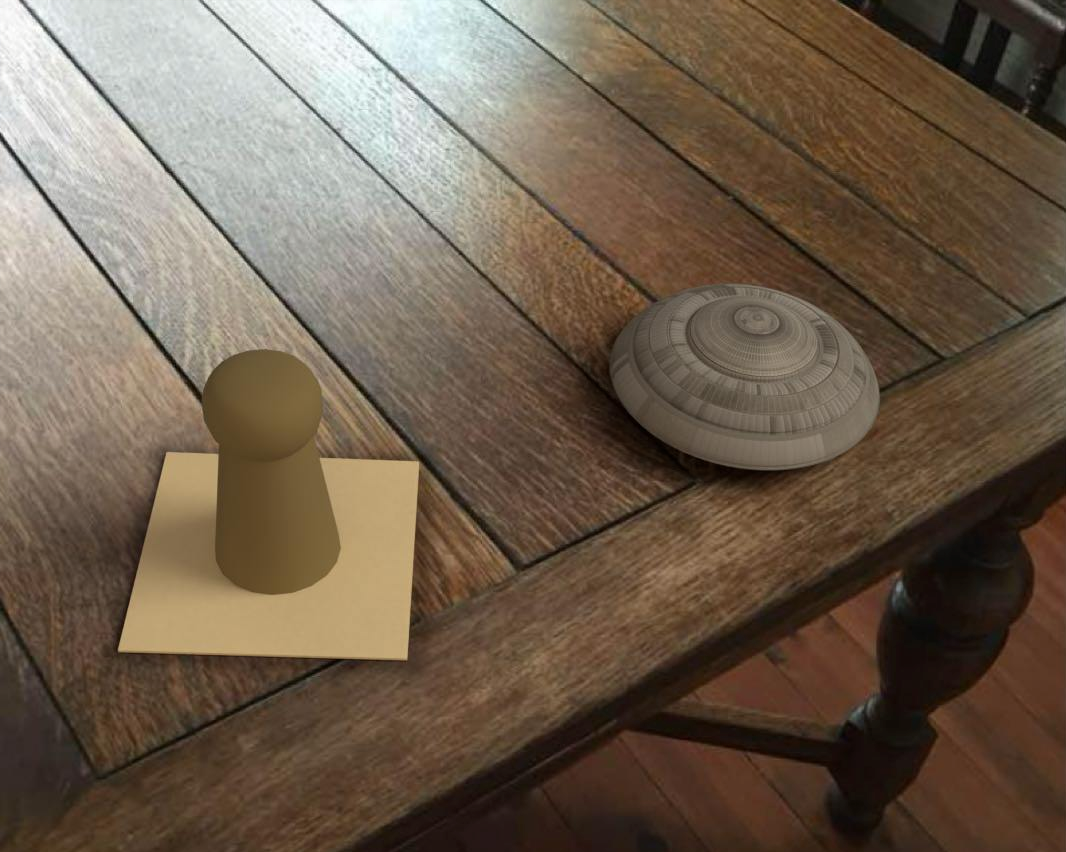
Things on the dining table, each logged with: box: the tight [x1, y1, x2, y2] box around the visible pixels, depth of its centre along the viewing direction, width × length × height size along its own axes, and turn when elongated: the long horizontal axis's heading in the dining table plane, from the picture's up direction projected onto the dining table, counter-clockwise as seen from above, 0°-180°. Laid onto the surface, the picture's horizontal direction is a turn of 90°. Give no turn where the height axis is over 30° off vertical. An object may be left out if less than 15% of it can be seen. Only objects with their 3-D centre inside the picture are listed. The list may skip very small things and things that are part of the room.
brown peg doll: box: [201, 348, 341, 595], centre depth 62 cm, size 6×6×11 cm
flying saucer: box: [609, 283, 881, 471], centre depth 74 cm, size 15×15×6 cm
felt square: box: [117, 451, 420, 661], centre depth 66 cm, size 13×13×1 cm
